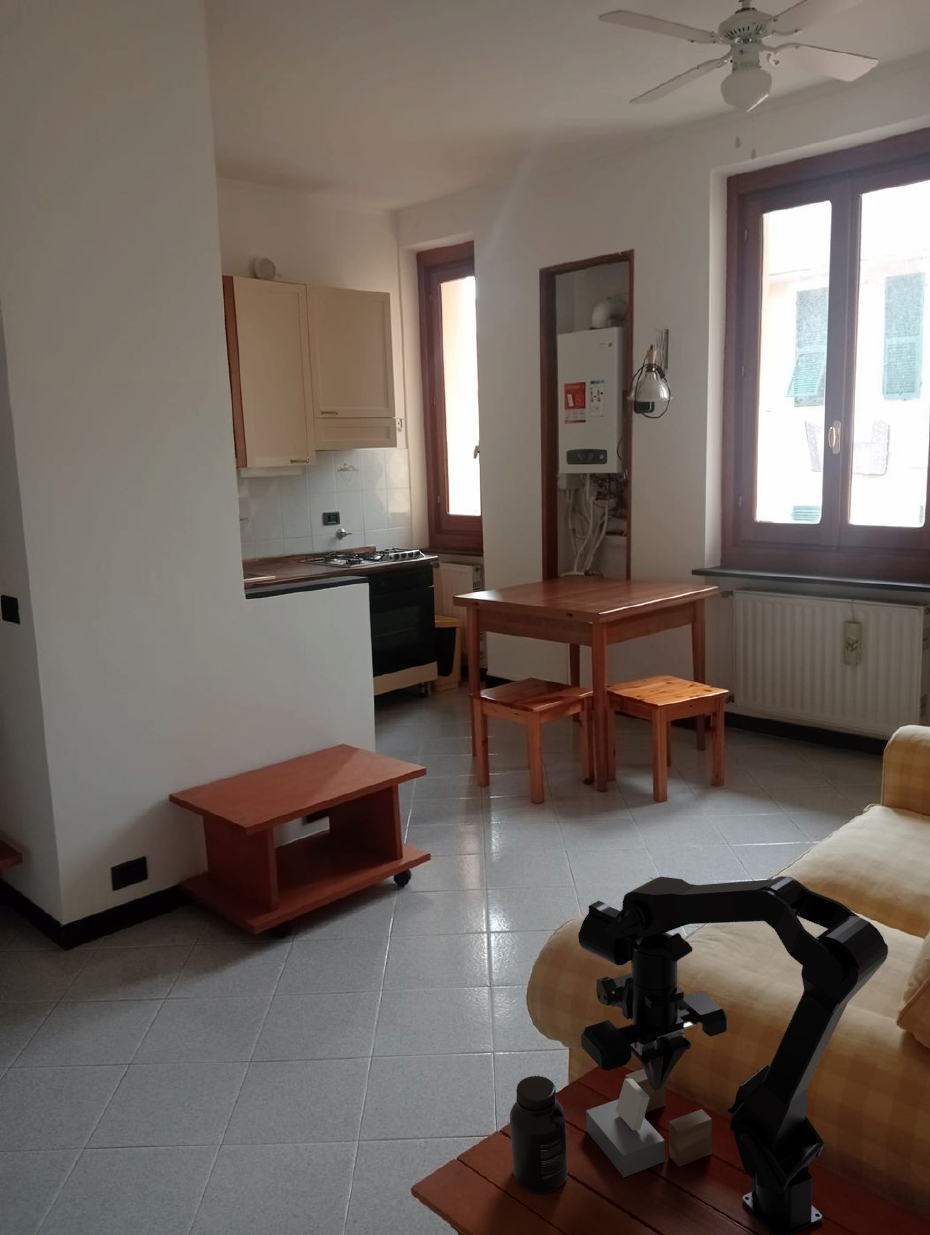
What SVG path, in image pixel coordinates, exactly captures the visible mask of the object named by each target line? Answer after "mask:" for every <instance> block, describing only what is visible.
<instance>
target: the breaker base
mask: <svg viewBox="0 0 930 1235" xmlns="http://www.w3.org/2000/svg"><path fill="white" fill-rule="evenodd" d="M618 1100H619V1098H617V1099H615V1100H612V1101H609V1102H607V1103H604V1104H601V1105H598V1106H595V1107H592V1108H589V1109H587V1110H585V1114H586V1115H585V1117H586V1118H585V1119H586V1122H585V1123H586V1132H587V1133H588V1134H589V1136H590V1137H591V1138H592V1139H593V1141H594V1142H595V1143H596V1144H597V1145H598V1147H599V1148H600V1149H601V1151H602V1152H603V1153H604V1154H605V1156H606V1157H607V1158H608V1159H609V1161H610V1162H611V1163H612V1164H613V1165H614V1167H615V1168H616V1169H617V1171H618V1172H619V1173H620V1174H621V1175H622V1177H623V1178H626V1177H629V1176H631V1175H633V1174H636V1173H638V1172H641V1171H644V1170H646V1169H648V1168H652V1167H654V1166H656V1165H659V1164H662V1163H664V1162H665V1161H666V1153H665V1152H666V1149H665V1148H666V1142H665V1141H666V1140H665V1139H664V1138H663V1136H662V1135H661V1134H660V1133H659V1132H658V1131H657V1130H656V1129H655V1128H654V1127H653V1125H652V1124H651V1123H650V1122H649V1120H648V1119H646V1118H645V1117H644V1119H643V1122H642V1126H641V1129H640V1130H632V1129H631V1128H630V1127H629V1125H628V1124H627V1123H626V1122H625V1121H624V1120H623V1119H622V1117H621V1116H620V1115H619V1114H618V1113H617V1112H616V1107H617V1104H618Z"/></svg>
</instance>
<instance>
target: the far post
mask: <svg viewBox="0 0 930 1235" xmlns="http://www.w3.org/2000/svg"><path fill="white" fill-rule="evenodd" d="M624 1077H625V1078H624V1080H625V1079H633V1080H634V1081H635V1082H636V1083H637V1084H638V1085H639V1086H640V1087H641V1088H642V1089H643V1091H644V1092H645V1093H646V1094H647V1095H648V1096H649V1097H650V1098H649V1102H648V1105H647V1109H646V1112H645V1114H646V1113H649V1112H652V1111H654V1110H658V1109H660V1108H663V1107H665V1106H666V1082H665V1083H664V1085H663V1086H662V1088H661V1090H658V1091H654V1090H653V1088H652V1087H651V1085H650V1083H649V1080H648V1078H647V1075H646V1073H645V1070H644V1068H642V1069H639V1070H636V1071H633V1072H631V1073H628V1074H625V1076H624Z"/></svg>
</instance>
